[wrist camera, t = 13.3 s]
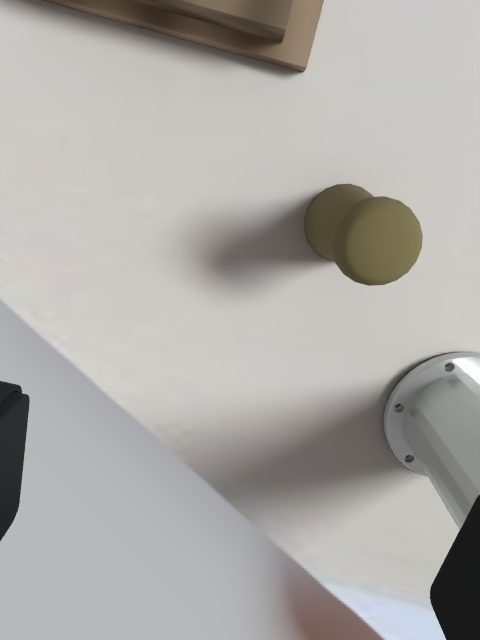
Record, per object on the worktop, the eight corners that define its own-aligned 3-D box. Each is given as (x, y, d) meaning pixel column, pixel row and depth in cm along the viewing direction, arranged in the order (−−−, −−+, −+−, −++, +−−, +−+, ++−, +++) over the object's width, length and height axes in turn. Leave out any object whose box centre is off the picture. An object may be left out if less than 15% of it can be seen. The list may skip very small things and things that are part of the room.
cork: (291, 243, 36) (311, 273, 25) (326, 170, 34) (362, 171, 23) (357, 273, 36) (403, 314, 26) (395, 203, 34) (460, 218, 24)
